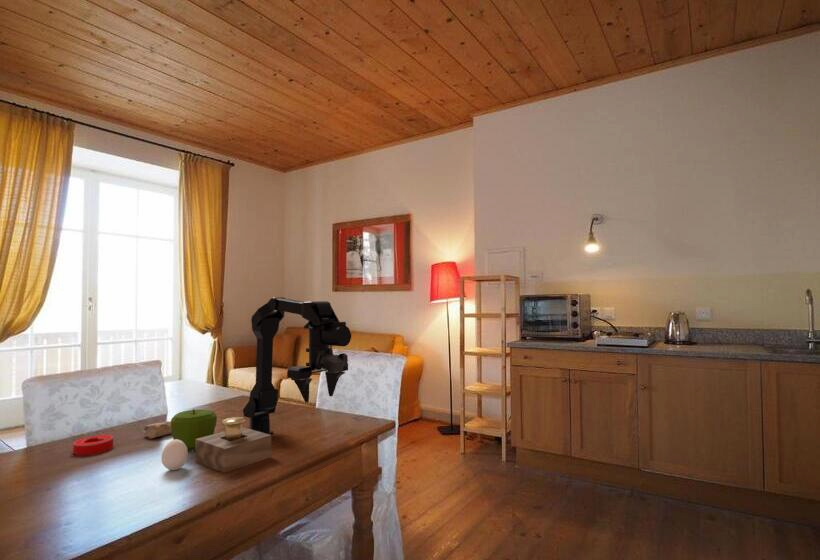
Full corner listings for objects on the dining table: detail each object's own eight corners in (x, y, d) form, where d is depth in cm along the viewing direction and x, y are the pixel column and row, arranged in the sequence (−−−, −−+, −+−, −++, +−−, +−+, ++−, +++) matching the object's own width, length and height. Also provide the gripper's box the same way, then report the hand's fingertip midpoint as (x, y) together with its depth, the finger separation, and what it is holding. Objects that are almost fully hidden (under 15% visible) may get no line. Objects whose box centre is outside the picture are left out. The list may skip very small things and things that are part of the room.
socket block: (195, 461, 122) (195, 439, 122) (241, 447, 133) (241, 426, 133) (224, 473, 113) (224, 448, 113) (271, 456, 124) (271, 434, 125)
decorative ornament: (64, 456, 128) (64, 444, 128) (90, 445, 138) (90, 434, 138) (97, 456, 128) (97, 444, 128) (120, 445, 137) (120, 434, 137)
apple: (223, 446, 134) (223, 408, 134) (180, 457, 125) (180, 416, 125) (205, 438, 142) (206, 402, 143) (164, 447, 133) (164, 409, 134)
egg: (183, 463, 120) (183, 434, 121) (191, 469, 116) (191, 439, 116) (158, 469, 116) (158, 439, 116) (165, 476, 112) (165, 445, 112)
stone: (141, 436, 146) (141, 422, 146) (176, 429, 153) (176, 415, 153) (148, 441, 140) (149, 427, 140) (184, 434, 147) (184, 420, 147)
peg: (217, 444, 123) (217, 420, 123) (237, 438, 127) (237, 416, 128) (230, 448, 119) (230, 424, 119) (249, 442, 124) (250, 419, 124)
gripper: (313, 349, 118) (313, 409, 117) (361, 343, 133) (361, 396, 132) (285, 347, 124) (285, 404, 124) (334, 341, 140) (335, 392, 139)
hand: (319, 399), depth 130 cm, fingers open, 9 cm apart
